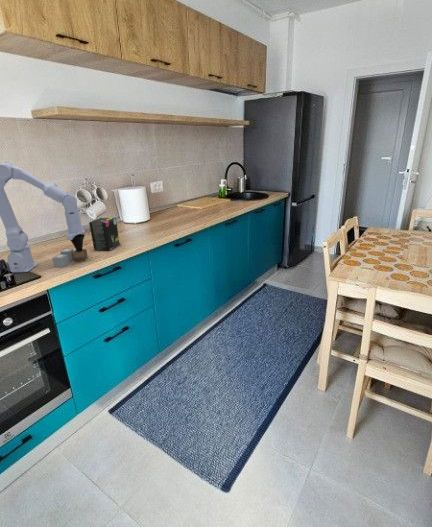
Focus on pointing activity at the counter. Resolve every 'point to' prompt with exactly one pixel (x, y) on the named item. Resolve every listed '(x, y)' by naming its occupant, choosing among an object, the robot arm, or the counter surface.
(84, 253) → the walnut cube
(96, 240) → the tampon box
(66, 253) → the grey dot cube
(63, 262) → the grey dot cube
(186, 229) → the counter surface
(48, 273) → the counter surface
